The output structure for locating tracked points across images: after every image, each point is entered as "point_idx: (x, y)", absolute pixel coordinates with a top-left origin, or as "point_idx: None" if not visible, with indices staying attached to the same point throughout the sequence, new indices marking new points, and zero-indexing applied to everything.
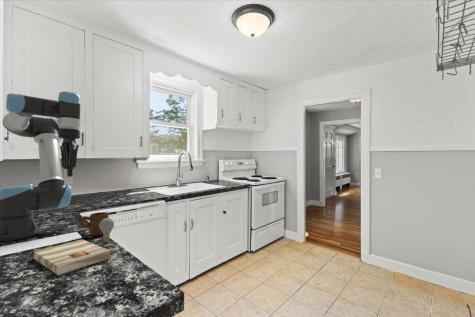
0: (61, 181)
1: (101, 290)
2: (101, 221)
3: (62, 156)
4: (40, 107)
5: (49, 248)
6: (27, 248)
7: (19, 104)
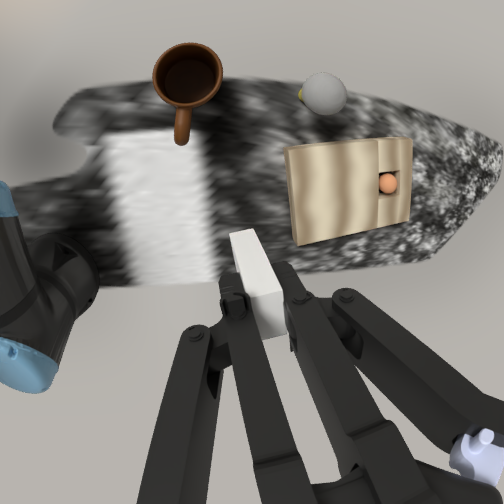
0: None
1: (463, 189)
2: (331, 110)
3: (211, 454)
4: None
5: (304, 221)
6: (199, 249)
7: None
